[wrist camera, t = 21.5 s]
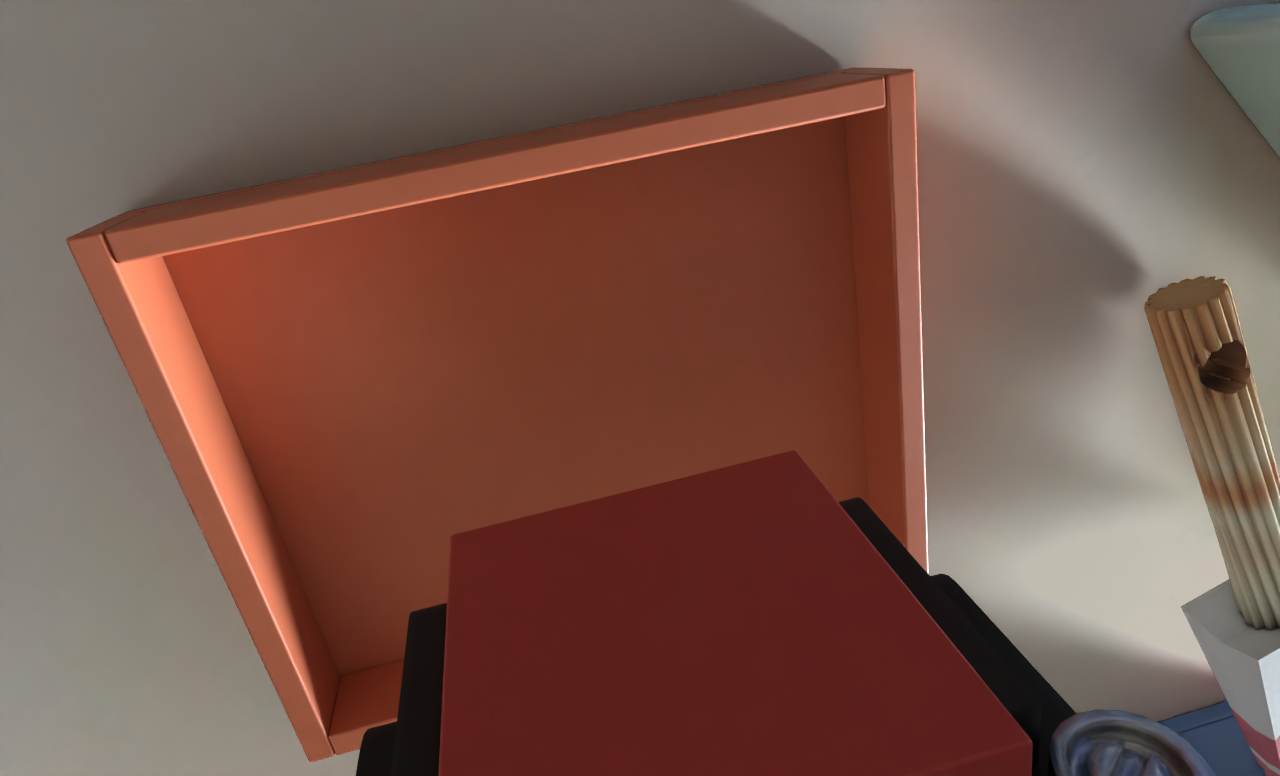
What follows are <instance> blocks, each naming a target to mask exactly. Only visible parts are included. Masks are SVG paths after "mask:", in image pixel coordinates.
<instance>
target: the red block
mask: <svg viewBox="0 0 1280 776" xmlns="http://www.w3.org/2000/svg"><path fill="white" fill-rule="evenodd" d="M1032 751H1033V744H1032V741H1031V739H1030V737H1029V736H1028V735H1027V734H1026V733H1025V731H1024V730H1023V729H1022V728H1021V726H1020V725H1019V724H1018V723H1017V721H1016V720H1015V719H1014V718H1013V717H1012V715H1011V714H1010V713H1009V712H1008V710H1007V709H1006V708H1005V707H1004V706H1003V704H1002V703H1001V702H1000V701H999V699H998V698H997V697H996V696H995V694H994V693H993V692H992V691H991V690H990V688H989V687H988V686H987V685H986V683H985V682H984V681H983V680H982V678H981V677H980V676H979V675H978V674H977V672H976V671H975V670H974V669H973V667H972V666H971V665H970V664H969V663H968V661H967V660H966V659H965V658H964V656H963V655H962V654H961V653H960V651H959V650H958V649H957V648H956V647H955V645H954V644H953V643H952V642H951V640H950V639H949V638H948V637H947V636H946V634H945V633H944V632H943V631H942V629H941V628H940V627H939V626H938V624H937V623H936V622H935V621H934V620H933V618H932V617H931V616H930V615H929V613H928V612H927V611H926V610H925V608H924V607H923V606H922V605H921V604H920V602H919V601H918V600H917V599H916V597H915V596H914V595H913V594H912V593H911V591H910V590H909V589H908V588H907V586H906V585H905V584H904V583H903V581H902V580H901V579H900V578H899V577H898V575H897V574H896V573H895V572H894V570H893V569H892V568H891V567H890V566H889V564H888V563H887V562H886V561H885V559H884V558H883V557H882V556H881V554H880V553H879V552H878V551H877V550H876V548H875V547H874V546H873V545H872V543H871V542H870V541H869V540H868V538H867V537H866V536H865V535H864V534H863V532H862V531H861V530H860V529H859V527H858V526H857V525H856V524H855V523H854V521H853V520H852V519H851V518H850V516H849V515H848V514H847V513H846V511H845V510H844V509H843V508H842V507H841V505H840V504H839V503H838V502H837V500H836V499H835V498H834V497H833V496H832V494H831V493H830V492H829V491H828V489H827V488H826V487H825V486H824V484H823V483H822V482H821V481H820V480H819V478H818V477H817V476H816V475H815V473H814V472H813V471H812V470H811V468H810V467H809V466H808V465H807V464H806V462H805V461H804V460H803V459H802V457H801V456H800V455H799V454H798V453H797V451H794V450H792V451H788V452H784V453H780V454H776V455H772V456H768V457H764V458H760V459H756V460H752V461H748V462H744V463H740V464H736V465H732V466H728V467H724V468H720V469H716V470H712V471H708V472H704V473H700V474H696V475H692V476H688V477H684V478H680V479H675V480H671V481H667V482H663V483H659V484H655V485H651V486H647V487H643V488H639V489H635V490H631V491H627V492H623V493H619V494H615V495H611V496H607V497H603V498H599V499H595V500H591V501H587V502H583V503H579V504H575V505H571V506H567V507H563V508H559V509H555V510H551V511H547V512H543V513H539V514H535V515H531V516H526V517H522V518H518V519H514V520H510V521H506V522H502V523H498V524H494V525H490V526H486V527H482V528H478V529H474V530H470V531H466V532H462V533H458V534H454V535H452V536H451V538H450V554H449V574H448V594H447V614H446V634H445V654H444V674H443V694H442V714H441V735H440V755H439V775H438V776H1031V775H1032Z"/></svg>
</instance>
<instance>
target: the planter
mask: <svg viewBox="0 0 1280 776" xmlns="http://www.w3.org/2000/svg"><path fill="white" fill-rule="evenodd" d="M1190 36H1191V40H1192V42H1193V44H1194V45H1195V47H1196V48H1197V50H1198V51H1199V52H1200V54H1201V55H1202V57H1203V58H1204V59H1205V61H1206V62H1207V63H1208V65H1209V66H1210V67H1211V69H1212V70H1213V71H1214V73H1215V74H1216V75H1217V77H1218V78H1219V79H1220V81H1221V82H1222V83H1223V84H1224V86H1225V87H1226V88H1227V90H1228V91H1229V92H1230V94H1231V95H1232V96H1233V98H1234V99H1235V100H1236V102H1237V103H1238V104H1239V106H1240V107H1241V108H1242V109H1243V111H1244V112H1245V113H1246V115H1247V116H1248V117H1249V119H1250V120H1251V121H1252V123H1253V124H1254V125H1255V127H1256V128H1257V129H1258V130H1259V132H1260V133H1261V134H1262V136H1263V137H1264V138H1265V140H1266V141H1267V142H1268V144H1269V145H1270V146H1271V148H1272V149H1273V150H1274V152H1275V153H1276V154H1277V155H1278V157H1279V158H1280V3H1276V4H1261V5H1247V6H1234V7H1227V8H1223V9H1219V10H1216V11H1213V12H1210V13H1208V14H1206V15H1204V16H1202V17H1201V18H1199V19H1198V20H1197V21H1195V22H1194V24H1193V25H1192V27H1191V35H1190Z"/></svg>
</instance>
